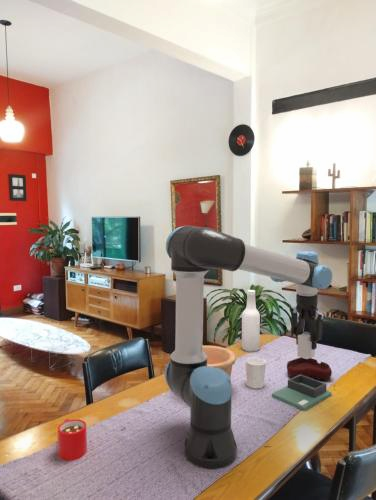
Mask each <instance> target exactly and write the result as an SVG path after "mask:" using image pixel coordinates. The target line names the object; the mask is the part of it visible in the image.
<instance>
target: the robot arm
mask: <svg viewBox="0 0 376 500" xmlns="http://www.w3.org/2000/svg"><path fill="white" fill-rule="evenodd" d="M165 251H166V255H168V257H169V258H170V262H171V265H170V266H171V267H170V270H171V272H172V273H173V274H174V275H175V336H174V337H175V339H174V340H175V341H174V343H175V344H174V345H175V346H174V347H175V349H174V351H173V352H172V353H170V359H169V362H168V363H166V365H165V369H164V380H165V382H166V384H167V387H168V388H169V389H170V390H171V392H173V393H174V394H175V395H176V396H177V397H179V399H180V400H182V401H183V402H184V403H185V404H186V405H187V406H188V407H189V408H190V410H189V411H190V414H189V415H190V419H189V421H190V425H189V426H190V427H189V429H188V431H187V435H186V438H185V441H184V446H183V449H184V453H183V454H184V456H185V457H186V459H187V460H188V461H189V462H190V463H191V464H193V465H195V466H197V467H201V468H203V469H204V468H205V469H219V468H224V467H227V466H229V465H230V464H232V463H233V462H234V461H235V460H236V458H237V456H238V455H237V453H238V445H237V441H236V440H235V435H234V432H233V429H232V394H233V388H232V380H231V378H230V377H229V375H228V374H227V373H226V372H225V371H223V370H221V369H219V368H214V367H211V366H207V355H206V354H205V353H204V352H203V350H202V349H203V346H204V344H203V343H204V342H203V339H204V337H203V336H204V334H203V333H204V292H205V291H204V284H205V282H204V281H205V280H204V279H205V275H207V273H208V272H209V271H210V269H213V270H223V271H224V270H225V271H229V272H236V271H238V270H240V271H243V272H249V273H253V274H257V275H260V276H265V277H269V278H270V279H271V281H273V282H276V283H283V282H289V283H292V284H295V291H296V295H295V302H296V306H294V307H290V308H289V312H290V318H291V319H290V322H291V323H290V328H291V334H292V335H295V342H296V343H295V345H297V346H298V335H300V334H303V333H304V326H305V321H307V324H308V331H309V333H310V337H311V340H309V358H312V359H313V358H314V357H315V356H316V349H317V347H318V346H317V344H318V343H317V342H318V341H320V340H323V339H322V338H323V326H324V324H323V323H324V319H325V313H321V312H320V311H319V309H318V304H319V303H318V302H319V300H318V299H319V295H318V291H319V290H318V289H320V290H325V289H327V288H329V286H330V285H331V284H332V281H333V272H332V269H331V268H329V266H327V265H323V264H319V255H318V253H317V252H315V251H309V250H308V251H307V250H305V251H298V252H296V257H292V256H288V255H285V254H281V253H278V252H274V251H272V250H267V249H264V248H262V247H256V246H253V245H250V244H247V243H245V241H244V240H243V239H241V238H238V237H236V236H232V235H230V234H227V233H224V232H222V231H219V230H217V229H214V228H211V227H206V226H205V227H204V226H202V227H201V226H194V225H183V226H179V227H177V228H175V229H173V230H172V232H170V233H169V235H168V236H167V239H166V242H165Z"/></svg>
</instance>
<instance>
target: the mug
mask: <svg viewBox="0 0 376 500" xmlns="http://www.w3.org/2000/svg"><path fill="white" fill-rule="evenodd" d="M87 443H88V441H87V423H86V422H85V421H84V420H82V419H76V418H73V419H70V418H65V419H64V421H63V422H61V423H60V424H59V425H58V426H57V444H58V446H57V447H58V457H59V458H60V459H61V460H63V461H67V462H70V461H76V460H79V459H81V458H82V457H84V456H85V455H86V454H87V451H88V447H87V446H88V444H87Z"/></svg>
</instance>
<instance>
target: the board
mask: <svg viewBox="0 0 376 500" xmlns="http://www.w3.org/2000/svg"><path fill="white" fill-rule="evenodd" d="M332 395H333V393H332V392H331V391H329V390H327V383H325V382H323V381H321V380H317V379H315V378H309V377H306V376H303V375H301V374H299V375H297V376H295V377H293V378H289V379H287V386H285V387H282V388H281V389H278V390H276V391H274V392H273V393H271V397H272V398H274V399H276V400H279V401H280V400H281V401H280V402H283V403H285V404H287V405H290V406H291V407H295V408H297V409H299V410H301V411H303V412H306V411H307V410H309V409H311V408H312V407H314V406H316V405H318V404H319V403H321V402H323V401H324V400H326V399H328V398H330V397H331V396H332Z"/></svg>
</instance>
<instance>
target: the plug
mask: <svg viewBox="0 0 376 500" xmlns="http://www.w3.org/2000/svg"><path fill="white" fill-rule="evenodd" d="M309 340H311V337H310V332H308V331H303V332H302V334H300V335H298V345H297V358H300V357H301V358H304V359H309Z"/></svg>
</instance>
